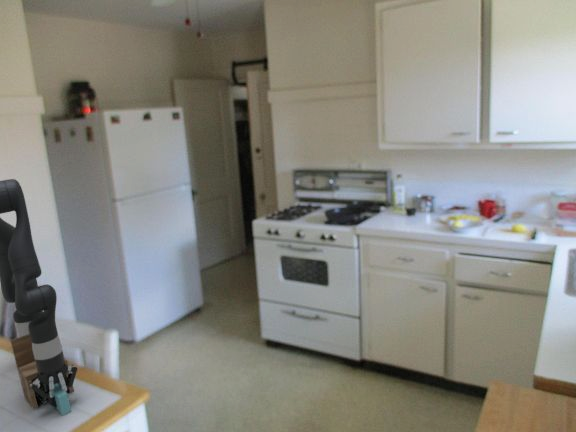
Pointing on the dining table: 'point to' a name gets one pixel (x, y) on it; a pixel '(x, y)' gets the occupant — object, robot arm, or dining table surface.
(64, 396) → the panel
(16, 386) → the dining table surface
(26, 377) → the walnut shelf
